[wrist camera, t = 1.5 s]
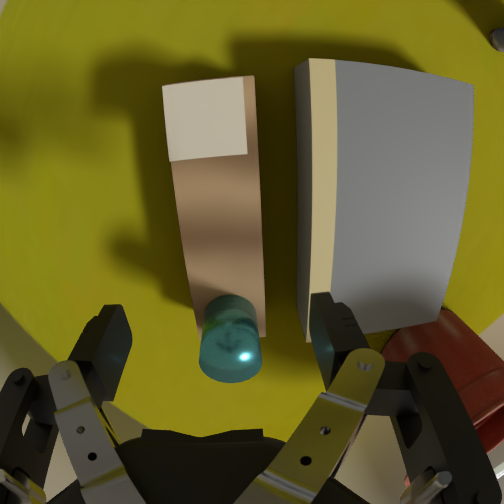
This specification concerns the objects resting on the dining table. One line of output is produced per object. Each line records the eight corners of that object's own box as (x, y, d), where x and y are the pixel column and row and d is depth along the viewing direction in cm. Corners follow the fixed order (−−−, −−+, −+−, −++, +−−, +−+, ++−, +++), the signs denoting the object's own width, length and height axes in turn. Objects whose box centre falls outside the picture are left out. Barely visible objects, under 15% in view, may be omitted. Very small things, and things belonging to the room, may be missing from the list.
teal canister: (200, 296, 24) (194, 342, 19) (255, 292, 24) (260, 338, 19) (207, 337, 25) (204, 384, 21) (257, 334, 26) (262, 380, 21)
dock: (293, 67, 20) (309, 58, 15) (437, 84, 20) (474, 84, 16) (296, 306, 29) (306, 342, 25) (414, 292, 30) (437, 321, 25)
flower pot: (477, 271, 29) (561, 359, 15) (463, 360, 36) (512, 438, 22) (355, 323, 31) (413, 453, 17) (366, 403, 38) (399, 499, 24)
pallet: (175, 88, 20) (163, 84, 17) (251, 81, 20) (254, 75, 17) (203, 312, 29) (200, 340, 26) (262, 308, 29) (266, 336, 26)
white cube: (176, 90, 17) (161, 86, 13) (240, 83, 17) (242, 77, 14) (181, 150, 19) (169, 161, 15) (244, 145, 19) (247, 154, 15)
